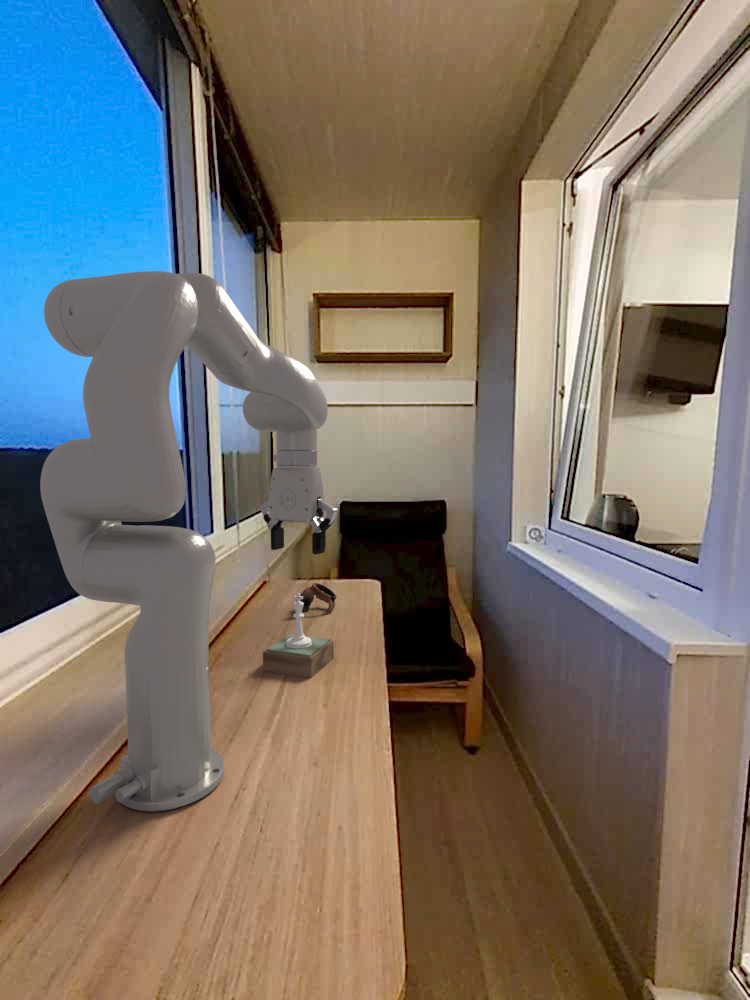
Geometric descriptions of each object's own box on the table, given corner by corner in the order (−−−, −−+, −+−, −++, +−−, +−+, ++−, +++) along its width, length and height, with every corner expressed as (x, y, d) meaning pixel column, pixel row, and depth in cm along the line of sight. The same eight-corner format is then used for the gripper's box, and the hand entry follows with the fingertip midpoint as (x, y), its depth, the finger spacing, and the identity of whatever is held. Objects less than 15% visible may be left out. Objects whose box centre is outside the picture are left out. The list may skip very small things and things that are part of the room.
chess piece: (307, 649, 101) (306, 597, 101) (282, 647, 102) (281, 595, 102) (315, 640, 106) (314, 590, 105) (291, 639, 107) (290, 589, 106)
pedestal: (311, 677, 98) (311, 656, 98) (263, 670, 102) (262, 649, 101) (333, 658, 108) (333, 638, 107) (288, 652, 111) (288, 633, 111)
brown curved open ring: (305, 606, 147) (320, 580, 147) (330, 626, 143) (346, 600, 142) (280, 606, 136) (296, 578, 136) (306, 628, 132) (323, 599, 132)
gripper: (248, 460, 102) (249, 550, 104) (323, 460, 94) (324, 558, 95) (273, 460, 109) (274, 544, 110) (346, 460, 101) (346, 552, 102)
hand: (297, 551), depth 103 cm, fingers open, 9 cm apart
